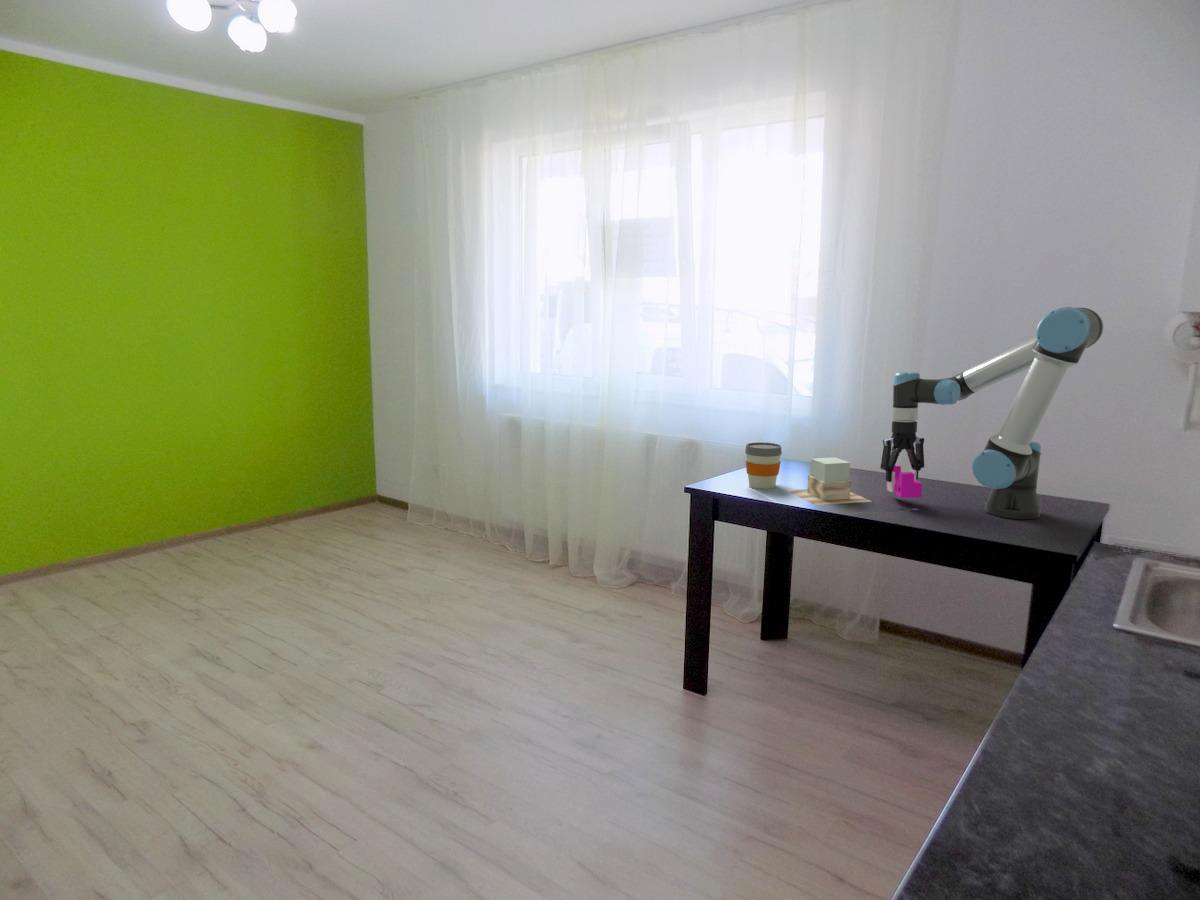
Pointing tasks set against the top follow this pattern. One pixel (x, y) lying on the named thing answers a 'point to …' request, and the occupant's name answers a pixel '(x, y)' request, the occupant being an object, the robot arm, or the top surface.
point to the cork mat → (817, 501)
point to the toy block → (906, 484)
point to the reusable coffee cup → (762, 464)
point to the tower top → (830, 469)
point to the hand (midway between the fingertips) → (901, 490)
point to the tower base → (829, 489)
